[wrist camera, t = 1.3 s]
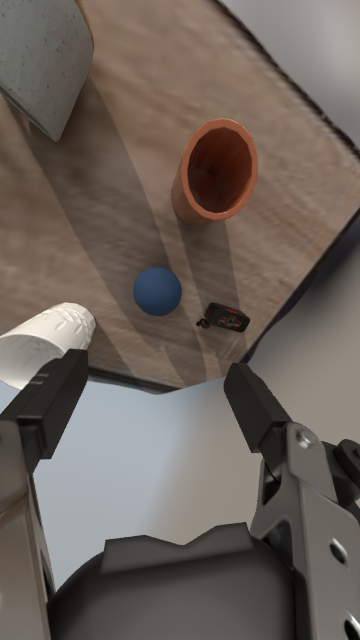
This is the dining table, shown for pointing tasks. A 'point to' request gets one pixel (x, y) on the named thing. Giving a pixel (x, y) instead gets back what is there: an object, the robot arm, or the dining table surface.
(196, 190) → the cup
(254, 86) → the dining table surface
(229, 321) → the wireless earbuds
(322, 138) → the dining table surface
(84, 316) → the white cup
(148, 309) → the ball
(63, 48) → the ceramic mug
